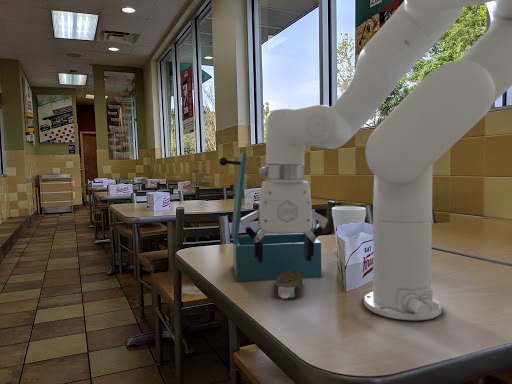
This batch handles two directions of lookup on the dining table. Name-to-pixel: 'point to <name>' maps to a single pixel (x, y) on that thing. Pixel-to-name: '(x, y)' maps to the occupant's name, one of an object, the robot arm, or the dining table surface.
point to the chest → (275, 257)
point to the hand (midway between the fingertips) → (283, 260)
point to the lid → (237, 193)
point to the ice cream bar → (288, 285)
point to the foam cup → (347, 215)
